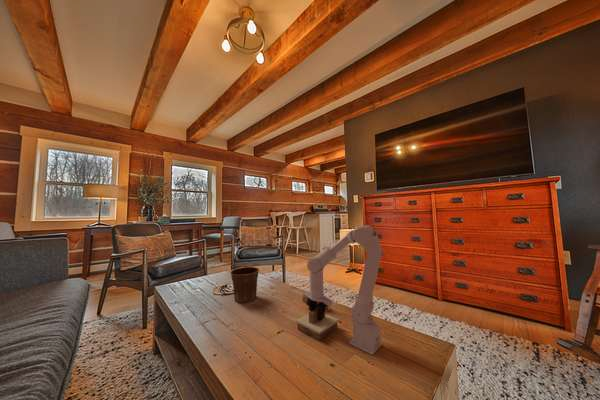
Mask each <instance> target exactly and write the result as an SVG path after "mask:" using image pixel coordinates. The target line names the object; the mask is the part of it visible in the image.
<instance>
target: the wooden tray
mask: <svg viewBox="0 0 600 400" xmlns="http://www.w3.org/2000/svg"><path fill="white" fill-rule="evenodd" d="M338 327H339V326H338V322H337V323H336V324H334V325H333V326H331V327H330V328H328V329H327V330H325V331H324V332H322V333H321V334H318V333H316V332H314V331H312V330H310V329H308V328H306V327H304V326H302V325H300V324H298V323H297V330H298V331H300V332H302V333H303V334H306V335H307V336H309V337H311V338H313V339H315V340H317V341H319V342H321V341H322V340H323V339H325V338H326V337H327V336H329V335H330V334H332V333H334V332H335V331H336V330H337V329H338Z"/></svg>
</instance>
